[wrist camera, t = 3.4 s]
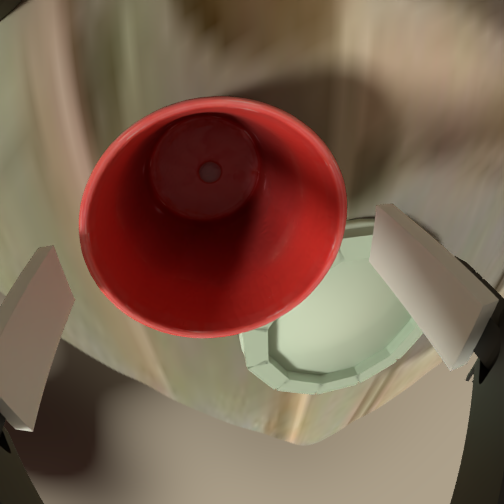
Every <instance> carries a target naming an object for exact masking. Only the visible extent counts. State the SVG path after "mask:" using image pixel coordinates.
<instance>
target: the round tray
mask: <svg viewBox="0 0 504 504" xmlns="http://www.w3.org/2000/svg"><path fill="white" fill-rule="evenodd" d="M374 223H375V218H363V219H353V220H347V221H346V226H345V231H344V236H343V240H342V243H341V246H340V249H339V251H338V254H337V256H336V258H335V260H334V262H333V264H332V266H331V268H330V269H329V271H328V272H327V274H326V275H325V277H324V278H323V280H322V281H321V282H320V284H319V285H318V286H317V287H316V288H315V289H314V291H313V292H312V293H311V294H310V295H309V296H308V297H307V298H306V299H305V300H303V301H302V302H301V303H300V304H299V305H298V306H296V307H295V308H293V309H292V310H291V311H289V312H288V313H286V314H284V315H283V316H281V317H280V318H278V319H276V320H274V321H272V322H270V323H268V324H266V325H264V326H261V327H259V328H256V329H254V330H251V331H247V332H244V333H240V334H239V338H240V343H241V348H242V351H243V353H244V356H245V362H246V367H248V370H249V371H251V372H252V373H253V374H254V375H256V376H257V377H258V378H259V379H261V380H262V381H263V382H265V383H266V384H267V385H269V386H270V387H271V388H273V389H276V390H277V391H284V392H292V393H301V394H311V395H314V394H315V393H317V394H321V393H326V392H330V391H334V390H338V389H342V388H346V387H349V386H353V385H357V383H358V381H359V382H360V383H361V382H363V381H365V380H367V379H368V378H370V377H372V376H374V375H375V374H377V373H379V372H380V371H382V370H384V369H385V368H387V367H388V366H390V365H392V364H393V363H395V362H397V361H396V359H400V358H401V357H402V356H403V355H404V354H405V353H406V352H407V351H408V349H409V348H410V347H411V346H412V345H413V344H414V343H415V342H416V341H417V340H418V338H419V337H420V336H421V335H422V334H423V331H422V330H421V329H420V327H419V326H418V325H417V323H416V322H415V321H414V319H413V318H412V316H411V315H410V314H409V312H408V311H407V310H406V308H405V307H404V306H403V304H402V303H401V302H400V301H399V299H398V298H397V297H396V295H395V294H394V293H393V291H392V290H391V289H390V288H389V286H388V285H387V284H386V282H385V281H384V280H383V279H382V277H381V276H380V275H379V274H378V272H377V271H376V270H375V269H374V267H373V266H372V265H371V264H370V262H369V257H370V251H371V244H372V237H373V230H374ZM395 358H396V359H395Z"/></svg>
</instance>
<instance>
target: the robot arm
mask: <svg viewBox="0 0 504 504" xmlns="http://www.w3.org/2000/svg"><path fill="white" fill-rule="evenodd" d="M21 1H22V0H0V20H1V19H2V18H3V17H4V16H6V15H7V14H8V13H9V12H10V11H11V10H12V9H13V8H14V7H16V6H17V5H18V4H19V3H20V2H21ZM369 262H370V264H371V265H372V266H373V267H374V269H375V270H376V271H377V272H378V274H379V275H380V276H381V277H382V279H383V280H384V281H385V282H386V284H387V285H388V286H389V288H390V289H391V290H392V291H393V293H394V294H395V295H396V297H397V298H398V299H399V301H400V302H401V303H402V304H403V306H404V307H405V308H406V310H407V311H408V312H409V314H410V315H411V316H412V318H413V319H414V321H415V322H416V323H417V325H418V326H419V327H420V329H421V330H422V331H423V333H424V334H425V336H426V337H427V338H428V340H429V341H430V343H431V344H432V346H433V347H434V348H435V350H436V351H437V353H438V354H439V356H440V357H441V358H442V360H443V361H444V363H445V364H446V366H447V367H448V369H449V370H450V371H452V370H454V369H457V368H459V367H461V366H464V365H465V364H467V362H468V361H469V359H470V357H471V355H472V353H473V352H475V354H476V355H477V356H478V359H477V361H476V362H475V364H474V366H473V367H472V369H471V371H470V372H469V374H468V376H467V378H466V381H469V379H470V378H471V376H472V375H473V374H474V380H473V381H472V382H473V391H472V400H471V408H470V416H469V422H468V429H467V435H466V440H465V446H464V451H463V456H462V460H461V465H460V469H459V473H458V477H457V482H456V485H455V489H454V492H453V496H452V499H451V503H450V504H504V298H503V297H502V296H501V295H500V294H499V293H498V292H497V291H496V290H495V289H494V288H493V287H492V286H491V285H490V284H489V283H488V282H487V281H486V280H485V279H482V277H481V276H480V275H479V274H478V273H476V272H475V270H474V269H473V268H472V267H471V266H470V265H469V264H468V263H466V262H465V261H463V260H461V259H459V258H458V257H456V256H453V255H452V254H451V253H450V252H449V251H448V250H447V249H446V248H444V247H443V246H442V245H441V244H440V243H439V242H438V241H436V240H435V239H434V238H433V237H432V236H431V235H430V234H428V233H427V232H426V231H425V230H424V229H423V228H421V227H420V226H419V225H418V224H417V223H415V222H414V221H413V220H412V219H411V218H409V217H408V216H407V215H406V214H404V213H403V212H402V211H401V210H399V209H398V208H397V207H396V206H394V205H393V204H380V205H377V206H376V215H375V223H374V230H373V237H372V244H371V251H370V257H369ZM74 301H75V299H74V296H73V294H72V292H71V289H70V287H69V285H68V282H67V280H66V277H65V275H64V272H63V270H62V267H61V264H60V262H59V259H58V256H57V254H56V251H55V248H54V245H52V246H46V247H40V248H38V249H37V251H36V252H35V254H34V255H33V256H32V258H31V259H30V261H29V262H28V264H27V265H26V267H25V268H24V270H23V271H22V273H21V274H20V276H19V277H18V279H17V280H16V282H15V283H14V285H13V287H12V288H11V290H10V291H9V293H8V295H7V296H6V298H5V299H4V301H3V303H2V304H1V306H0V504H44V503H43V501H42V500H41V498H40V496H39V495H38V493H37V491H36V489H35V487H34V485H33V484H32V482H31V480H30V478H29V476H28V474H27V472H26V470H25V468H24V466H23V464H22V462H21V460H20V458H19V455H18V453H17V451H16V449H15V447H14V445H13V442H12V440H11V437H10V435H9V433H8V432H7V430H6V429H5V428H4V427H3V426H4V422H5V419H6V420H7V421H8V422H9V423H10V424H11V425H12V426H13V427H14V428H15V429H18V430H25V431H33V429H34V425H35V421H36V417H37V413H38V409H39V405H40V401H41V397H42V394H43V391H44V387H45V384H46V380H47V377H48V374H49V371H50V368H51V364H52V361H53V358H54V355H55V352H56V349H57V346H58V344H59V341H60V338H61V335H62V332H63V330H64V327H65V324H66V322H67V319H68V316H69V314H70V311H71V309H72V306H73V304H74Z"/></svg>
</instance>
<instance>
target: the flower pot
mask: <svg viewBox="0 0 504 504" xmlns="http://www.w3.org/2000/svg"><path fill="white" fill-rule="evenodd" d="M346 219H347V195H346V188H345V183H344V179H343V176H342V173H341V171H340V168H339V166H338V164H337V162H336V160H335V158H334V156H333V155H332V153H331V151H330V150H329V148H328V147H327V146H326V144H325V143H324V142H323V141H322V139H321V138H320V137H319V136H318V135H317V134H316V133H315V132H314V131H313V130H312V129H311V128H310V127H308V126H307V125H306V124H304V123H303V122H302V121H300V120H299V119H297V118H296V117H294V116H293V115H291V114H289V113H287V112H286V111H284V110H281V109H279V108H277V107H275V106H272V105H269V104H266V103H263V102H260V101H256V100H252V99H247V98H240V97H231V96H212V97H201V98H195V99H189V100H185V101H181V102H178V103H174V104H171V105H169V106H166V107H163V108H161V109H159V110H156V111H154V112H152V113H151V114H149V115H147V116H145V117H144V118H142V119H140V120H139V121H137V122H136V123H134V124H133V125H131V126H130V127H129V128H128V129H126V130H125V131H124V132H123V133H122V134H121V135H120V136H119V137H117V138H116V140H115V141H114V142H113V143H112V144H111V145H110V146H109V147H108V148H107V150H106V151H105V152H104V153H103V155H102V156H101V158H100V159H99V161H98V162H97V164H96V166H95V168H94V169H93V171H92V173H91V175H90V177H89V180H88V182H87V184H86V187H85V190H84V193H83V197H82V201H81V205H80V213H79V236H80V244H81V249H82V254H83V257H84V260H85V263H86V265H87V268H88V270H89V272H90V274H91V276H92V277H93V279H94V281H95V282H96V284H97V286H98V287H99V288H100V290H101V291H102V292H103V293H104V295H105V296H106V297H107V298H108V299H109V300H110V301H111V302H112V303H113V304H114V305H115V306H116V307H117V308H118V309H120V310H121V311H122V312H124V313H125V314H126V315H128V316H129V317H131V318H132V319H134V320H136V321H138V322H140V323H142V324H144V325H146V326H148V327H150V328H153V329H155V330H158V331H161V332H164V333H168V334H172V335H176V336H182V337H191V338H216V337H225V336H231V335H236V334H240V333H244V332H247V331H251V330H254V329H256V328H259V327H261V326H264V325H266V324H268V323H270V322H272V321H274V320H276V319H278V318H280V317H281V316H283V315H284V314H286V313H288V312H289V311H291V310H292V309H293V308H295V307H296V306H298V305H299V304H300V303H301V302H302V301H303V300H305V299H306V298H307V297H308V296H309V295H310V294H311V293H312V292H313V291H314V289H315V288H316V287H317V286H318V285H319V284H320V282H321V281H322V280H323V278H324V277H325V275H326V274H327V272H328V271H329V269H330V268H331V266H332V264H333V262H334V260H335V258H336V256H337V254H338V251H339V249H340V246H341V243H342V240H343V236H344V231H345V226H346Z"/></svg>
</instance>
